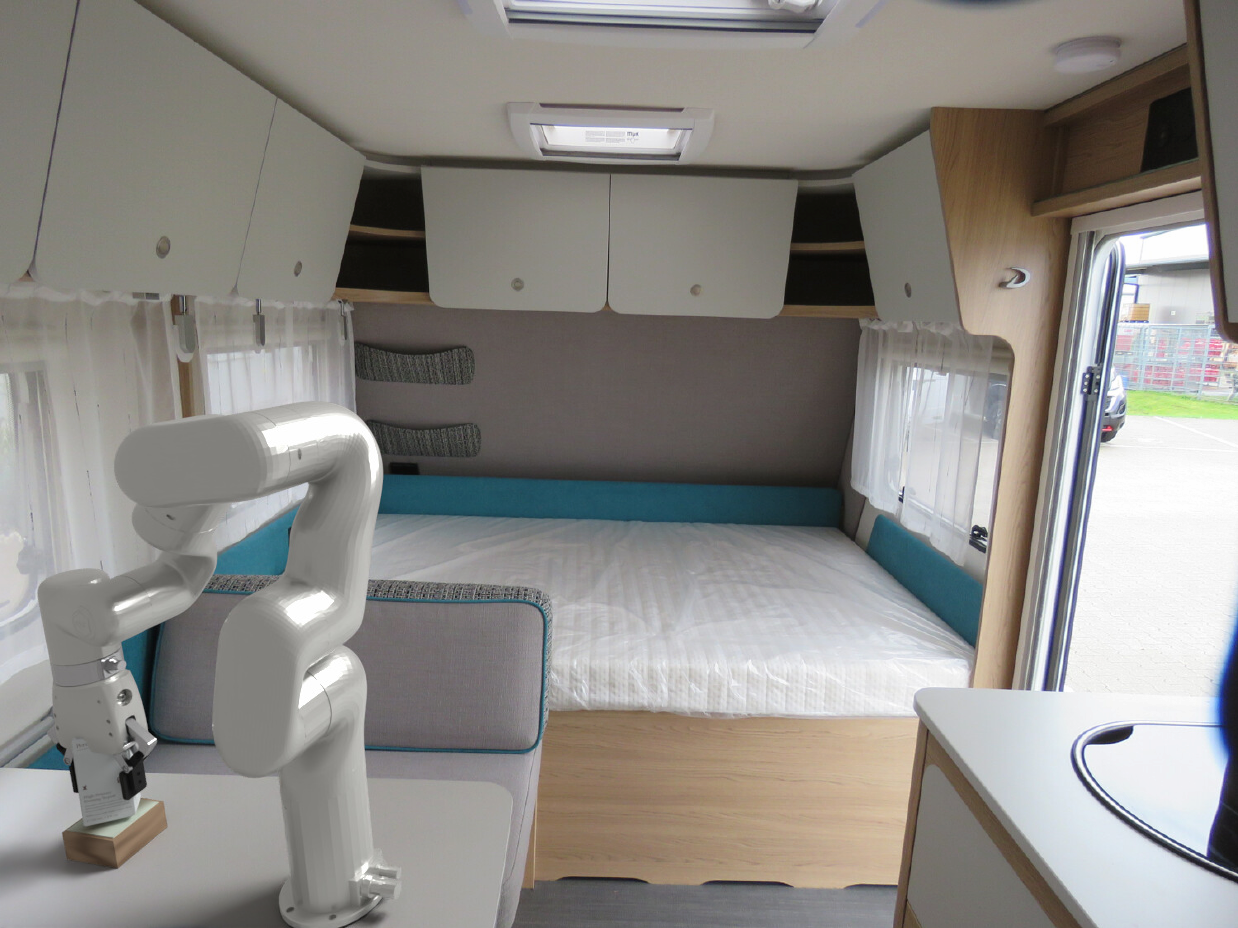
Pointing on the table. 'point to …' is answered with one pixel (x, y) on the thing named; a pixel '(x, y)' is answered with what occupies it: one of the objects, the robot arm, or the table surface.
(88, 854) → the brown square block
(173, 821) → the table surface
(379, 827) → the table surface
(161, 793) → the table surface
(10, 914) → the table surface
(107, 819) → the skincare box
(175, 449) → the robot arm
